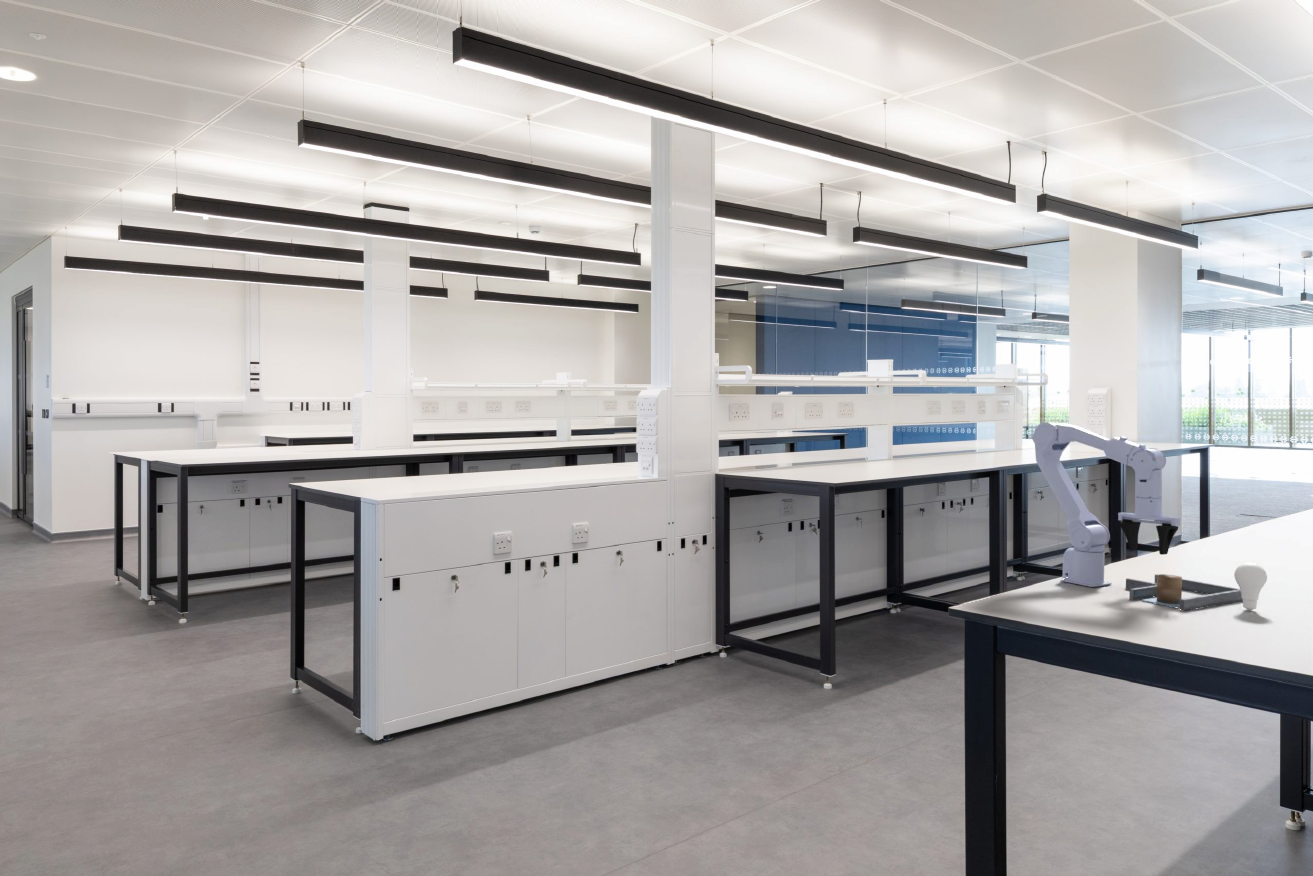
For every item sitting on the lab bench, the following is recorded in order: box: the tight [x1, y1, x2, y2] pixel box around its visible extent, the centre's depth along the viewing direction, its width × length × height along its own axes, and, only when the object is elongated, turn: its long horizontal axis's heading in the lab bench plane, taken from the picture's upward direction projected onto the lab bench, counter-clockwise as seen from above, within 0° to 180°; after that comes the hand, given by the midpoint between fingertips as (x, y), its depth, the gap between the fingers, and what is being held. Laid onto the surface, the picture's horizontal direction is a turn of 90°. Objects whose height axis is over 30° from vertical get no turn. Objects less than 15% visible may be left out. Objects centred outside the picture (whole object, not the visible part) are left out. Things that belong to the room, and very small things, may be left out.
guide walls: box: [1125, 574, 1243, 611], centre depth 208 cm, size 22×24×2 cm
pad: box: [1141, 597, 1180, 608], centre depth 201 cm, size 8×8×1 cm
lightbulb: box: [1234, 562, 1268, 612], centre depth 194 cm, size 6×6×11 cm
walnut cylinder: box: [1156, 573, 1183, 604], centre depth 201 cm, size 5×5×6 cm
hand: (1148, 552), depth 211 cm, fingers open, 7 cm apart
